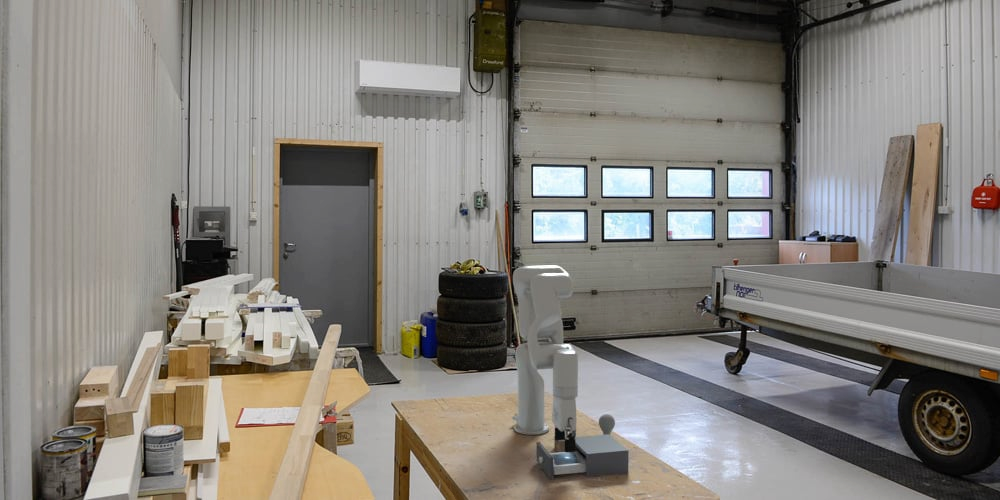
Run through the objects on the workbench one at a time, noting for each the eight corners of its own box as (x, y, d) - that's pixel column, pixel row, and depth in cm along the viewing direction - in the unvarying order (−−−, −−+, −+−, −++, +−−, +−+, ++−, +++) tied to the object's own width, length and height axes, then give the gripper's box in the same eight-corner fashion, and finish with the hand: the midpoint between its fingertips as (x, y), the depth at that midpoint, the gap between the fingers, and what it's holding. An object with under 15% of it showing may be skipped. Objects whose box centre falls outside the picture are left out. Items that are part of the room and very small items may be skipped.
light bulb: (602, 447, 215) (602, 417, 214) (596, 441, 220) (596, 412, 220) (617, 445, 216) (617, 415, 216) (610, 440, 222) (610, 411, 221)
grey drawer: (533, 461, 201) (533, 442, 201) (575, 457, 204) (575, 438, 204) (546, 479, 187) (546, 458, 186) (591, 474, 190) (591, 454, 189)
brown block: (554, 447, 214) (554, 435, 214) (568, 446, 215) (568, 434, 215) (559, 453, 210) (558, 440, 209) (573, 451, 211) (573, 439, 210)
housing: (570, 459, 204) (570, 437, 204) (609, 455, 207) (609, 434, 206) (587, 477, 189) (587, 453, 189) (628, 473, 192) (628, 450, 192)
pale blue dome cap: (549, 461, 196) (549, 456, 196) (564, 455, 201) (564, 450, 201) (566, 468, 191) (566, 463, 191) (581, 462, 195) (581, 457, 195)
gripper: (545, 383, 202) (544, 436, 204) (562, 400, 186) (561, 457, 187) (567, 382, 204) (567, 434, 205) (586, 398, 187) (586, 455, 189)
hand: (564, 445), depth 196 cm, fingers open, 9 cm apart
